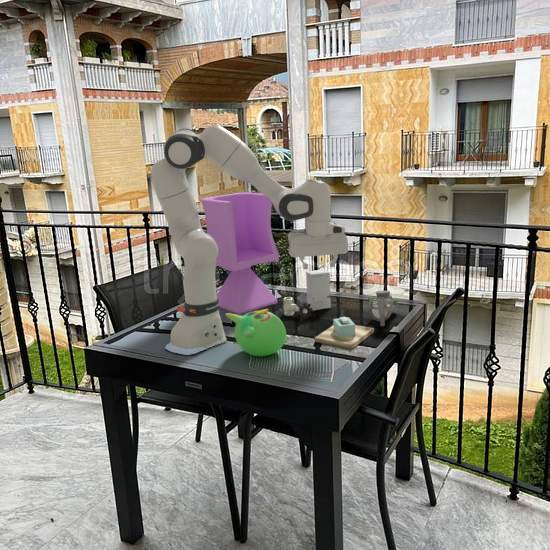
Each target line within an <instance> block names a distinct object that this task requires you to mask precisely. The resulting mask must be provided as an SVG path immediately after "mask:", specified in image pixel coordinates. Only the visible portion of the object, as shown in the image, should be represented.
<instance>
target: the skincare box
mask: <svg viewBox="0 0 550 550" xmlns="http://www.w3.org/2000/svg"><path fill="white" fill-rule="evenodd" d="M305 276H306V278H305V279H306V301H307V303H306V304H311V306H310V308H312V309H313V310H312V311H311V312H313V311H318V310H319V311H320V310H324V309H330V308H331V307H332V306H331V304H332V302H331V273H330V271H328V270H326V269H317V270H308V271H305ZM307 306H308V305H307Z"/></svg>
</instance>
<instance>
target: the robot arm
mask: <svg viewBox="0 0 550 550" xmlns="http://www.w3.org/2000/svg"><path fill="white" fill-rule="evenodd" d="M163 154H164V158H163V159H160V160H158V161H157V162H155V163H154V164H153V165H152V166H151V168H150V177H151V181H152V186H153V188H154V192H155V195H156V197H157V199H158V202H159V205H160V206H161V210H162V212H163V215H164V217H165V219H166V223H167V225H168V229H169V233H170V237H171V239H172V243H173V246H174V249H175V251H176V252H177V254H178V255H179V256H180V257H182V259H183V262H184V263H183V264H184V274H183V279H182V283H183V284H182V285H183V292H184V300H185V301H184V302H183V306H181V305H178V306H177V308H176V311H177V312H179V313H182V315H181V316H180V318H179V320H178V321H177V322H176V323H175V325H174V326H173V327H172V329H171V332H170V342H171V345H173V346H176V347H179V348H184V349H194V348H198V347H199V348H201V347H203V348H207V347H210V346H213V345H217V344H220V345H222V344H224V342H225V343H227V342H228V341H227V337H226V336H227V334H226V332H225V330H224V326H223V322H222V318H221V314H220V308H219V300H218V298H217V293H218V292H217V285H216V284H217V283H216V268H217V265H216V258H217V256H218V246H217V244H216V242H215V241H214V239H213V238H212V237H211V236H210V235H208V234H207V232H205V231H204V229H203V227H202V224H201V220H200V215H199V207H198V205H197V202H196V199H195V197H194V194H193V192H192V188H191V186H190V185H189V181H188V178H187V176H186V169H189V168H192V167H194V165H196V164H197V163H199V162H201V160H203V159H208V160H210V161H211V162H212V163H214V164H215V165H216V166H217V167H218V168H219V169H221V170H222V171H224V172H225V173H226V174H228V175H229V176H230V177H232V178H235V179H236V180H239V181H242V182H246V183H248V184H250V185H251V186H253V187H254V188H255V189H256V190H258V191H259V192H260V194H264V195H265V196H266V197H267V198H268V199H269V200H270V201H271V203H272V208H273V209H274V211H275V212H276V213H277V214H278V215H279V216H280V217H282V218H283V219H285V220H287V221H290V222H291V221H292V222H295V221H299V220H304V228H301V229H292V230H291V231H289V233H288V234H287V241H288V242H289V245H288V254H289V256H290V257H292V258H299V259H298V260H300V262H301V263H302V269H303V270H308V269H309V264H308V263H307V262H305V261H304V260H305V257H318V256H320V257H321V256H329V255H332V257H333V258H332V259H331V261H329V267H330V268H335V267H336V262H337V260H338V258H339V255H343V254H345V255H346V254H347V253H348V252H349V242H348V237H347V235H346V234H345V232H346V228H345V227H344V226H343V225H341V224H338V223H335V222H332V218H331V212H330V211H331V205H332V203H331V202H332V200H331V199H332V198H331V190H330V186H329V185H328V183H327V182H325V181H324V180H318V179H317V180H316V179H307V180H306V181H305V182H304V183H302V184H301V185H298V186H297V187H295V188H290V187H286V186H284V185H282V184H280V183H279V182H277V181H276V180H275V179H274V178H273V176H271V175H269V173H267V172H266V171H265V170H264V168H263V167H262V166H261V164H260V163H259V159H258V156H256V154H255V153H254V152H253V150H252V149H251V148H250V147H249V146H248V145H247V144H246V143H245V142H244V141H242V140H241V139H240V138H239V136H236V135H235V134H234V133H233V132H231V131H229V130H228V129H226V128H225V127H223V126H221V125H219V124H215V123H214V124H210V125H209V126H207V127H205V128H204V129H203V130H202V132H201V133H199V134H198V133H197V132H196V131H194V130H193V129H189V128H181V129H178V130H176V131H173V133H171V135H169V137H168V139H167V140H166V142H164V147H163ZM226 341H227V342H226ZM221 343H222V344H221ZM217 346H218V345H217Z"/></svg>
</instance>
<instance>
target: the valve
mask: <svg viewBox="0 0 550 550" xmlns="http://www.w3.org/2000/svg"><path fill="white" fill-rule="evenodd" d="M302 305H303V306H302ZM302 305H300V306H298V305H297V304H296V303H294V298H293V297H291V296H287V297H284V298H283V307H282V308H283V310H284V316H287V317H289V316H290V317H291V316H293V315H294V314H295V313H296V312H297V314H298V316H299V319H300V320H304V321H305V320H306V321H307V320H308V317H312V313H311V312H313V311H312V310H313V309H312V308H310V306H311V304H307V303H306V302H303V304H302ZM307 305H308V306H307Z"/></svg>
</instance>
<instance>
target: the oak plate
mask: <svg viewBox="0 0 550 550" xmlns="http://www.w3.org/2000/svg"><path fill="white" fill-rule="evenodd" d="M374 333H375V328H374V327H371V326H370V327H369V326H364V325H357V324H355V336H349V337H342V338H340V337H339V336H338V335H337V333H336V332H335V331H334V324H333V325H331V326H330V327H329V328H327V329H326V330H324V331H323V332H321V333H319V334H318V335H316V336H314V343H321V344H325V345H330V346H336V347H341V348H343V349H344V348H346V349H349V350H353V349H354V348H356V347H357V346H358V345H359V344H361V343H362V342H363V341H365V340H366V339H367V338H369V337H370V336H371V335H373V334H374Z"/></svg>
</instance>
